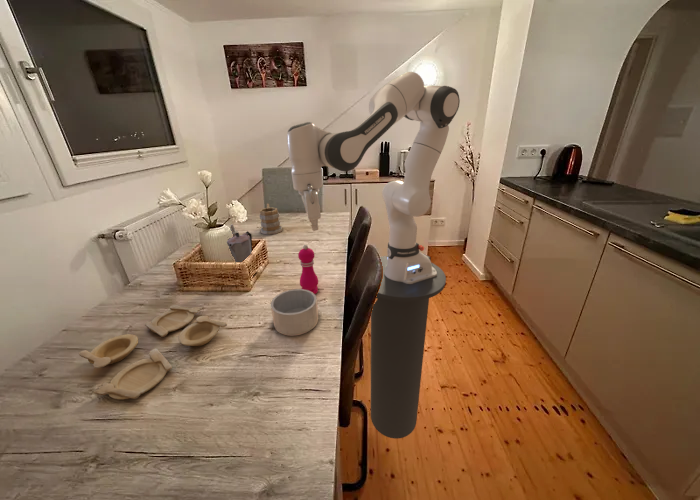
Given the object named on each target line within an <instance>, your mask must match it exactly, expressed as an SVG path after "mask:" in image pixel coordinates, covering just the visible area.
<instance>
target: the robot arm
mask: <svg viewBox="0 0 700 500" xmlns="http://www.w3.org/2000/svg"><path fill="white" fill-rule="evenodd" d="M460 101H461V99H460V94H459V92H458V90H457V89H456V88H454V87H453V86H449V85H432V84H430V85H425V81H424V80H423V78H422V76H420V74H419V73H417V72H416V71H407V72H405V73H402V74H401V75H398V76H395V78H393V79H391V80H389V81H388V82H387V83H385V84H384V85H383V86H382V87H381V88H379V89H378V90H377V91H376V92H375V93H374V94H373V95H372V96H371V98H370V99H369V101H368V102H369V103H368V111H369V112H368V113H369V116H367V117H366V118H365V119H364V120H362V122H360V123H359V124H358V125H357V126H356V127H354V128H353V129H351V130H348V131H347V130H346V131H342V132H335V133H334V132H333V133H332V132H330V131H327V130H325V129H322V128H320V127H318V126H317V125H316V124H314V123H313V122H311V121H307V122H303V123H299V124H296V125H293V126H291V127H290V128H289V129H288V130H287V134H286V144H287V153H288V158H289V159H288V160H289V161H290V164H291V170H290V171H291V173H290V174H291V178H292V186H293V190H294V191H298V194H299V195H300V196H301V201H302V204H303V207H304V209H305V213H306V215H307V219H308V221H309V223H310V224H311V230H312V231H313V232H316V231H319V220H320V219H321V218H322V214H321V213H322V212H321V207H320V200H319V195H318V194H319V193H320V189H321V188H323V186H324V184H323V183H324V182H323V173H322V167H329V168H332V169H335V170H338V171H340V172H349V171H352V170H354V169H355V168H357V166H359V164H360V163H361V161H362V160H363V157H364V156H365V154H366V152H367V151H368V150H369V148H370V147H372V145H374V144H375V143H376V142H377V141H378V140H379V139H380V138H381V137H382V136H383V135H384V134H385V133H386V132H387V131H389V129H391V128H392V127H393V126H394V125H395V124H396V123H398V122H399V121H400V120H402V119H403V118H405V119H407V120H410V121H415V122H419V130H418V132H417V134H416V136H415V137H414V140H413V142H412V144H411V147H410V149H409V151H408V153H407V156H406V157H405V160H404V165H403V166H404V169H405V170H404V178H403V181H401V180H393V181H389V182H387V183H386V184H385V185H384V186H383V188H382V191H381V197H382V199H383V201H384V204H385V209H386V215H387V220H388V243H387V249H386V250H387V251H386V253H387V256H388V260H387V265H386V269H385V271H384V274H385V276H386V277H387V278H389V279H391V280H394V281H399V282H404V283H407V284H413V283H416V282H419V281H422V280H425V279H429V278H432V277H435V276H437V272H436V270H435V269H434V268H433V267H432V264H431V263H432V260H431V259H432V257H431V256H429V255H427V254H426V253H423V251H424V250H425V246H424V245H422V244H419V243H418V242H417V235H418V233H417V232H418V226H417V223H416V221H415V218H418V217H422V216H424V215H426V214H427V213H428V212H429V210H430V208H431V205H432V199H431V195H430V184H431V179H432V175H433V172H434V171H435V168H436V165H437V164H438V161H439V159H440V156H441V154H442V152H443V150H444V147H445V145H446V142H447V138H448V135H449V131H450V127H449V125H450V124H451V122H452V121H453V120H454V118H455V116H456V115H457V113H458V111H459V108H460ZM414 217H415V218H414Z"/></svg>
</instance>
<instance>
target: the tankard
mask: <svg viewBox="0 0 700 500" xmlns="http://www.w3.org/2000/svg"><path fill="white" fill-rule="evenodd" d="M279 218H280V211H278V208H277V207H270V203H266V207H264V208H262V209H261V208H260V210H259V219H260V220H261V221H260V227H261V228H260V233H261V234H263V235H267V236H268V235H276V234H279V233H281V232H282V231H283V227H282V225H281V221H280V219H279Z"/></svg>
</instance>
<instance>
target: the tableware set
mask: <svg viewBox="0 0 700 500" xmlns="http://www.w3.org/2000/svg"><path fill="white" fill-rule="evenodd" d="M201 310H203V307H202V306H194V307H193V306H192V307H187V306H180V305H175V304H173V305H170V306H169V309H168V310H165V311H163V312H161V313H159V314H158V315H157V316H155V317H154V318H153V319H152V320H151V321H145V322H144V326H145V327H147V328H148V329H149V330H150V332H152V333H154V334H156V335H158V336H160V337H161V338H164V337H166V336H167V335H168V334H169V333H171V332H175V331H178V330H180V329H182V328H184V327H185V326H186V327H185V328H184V329H183V330H181V332H180V333H179V335H178V337H177V340H178V342H179V344H180V345H183V346H185V347H201V346H204V345H207V344H208V343H209V342H210V341H212V339H214V337H215V336H216V335H217V334H218V333H219V332H220V328H226V327H227V326H228V323H227V322H226V321H221V320H215V319H210V317H209V316H208V315H206V314H205V315H200V316H197V318H196V319H195V321H196V322H193V323H191V322H192V321H193V319H194V318H195V314H197V313H199V312H200V311H201ZM190 323H191V324H190ZM188 324H189V325H188ZM187 325H188V326H187ZM138 344H139V337H138V336H137V335H135V334H132V333H131V334H130V333H127V334H126V333H125V334H121V335H116V336H114V337H111V338H108V339H107V340H105V341H102V342H101V343H100V344H98V345H96V346H95V347H94V348H92V350H91V351H88V350H85V349H83V350H80V351H79V352H78V356H79V357H82V358H84V359H86V360H87V361H88V363H90V365H93V367H94V368H96V369H100V368H104V367H106V366H108V365H113V364H116V363H118V362H121V361H122V360H124V359H126V358H127V357H128V356H129V355H130V354H131V352H132V351H133V350H134V349H135V348H136V347H137V346H138ZM148 356H149V357H147V358H143V359H140V360H137V361H135V362H132V363H131V364H129V365H126V366H125V367H124V368H123V369H121V370H120V371H118V372H117V373H116V374H115V376H113V377H112V378H111V380H110V382H109V383H108V382H103V383H102V384H101V386H98V387H97V389H95V390H93V392H92V393H93V394H95V395H101V396H105V395H108V396H109V397H110V398H112V399H114V400H119V401H120V400H128V399H132V400H135V399H138V398H139V397H140V396H141V395H142V394H145V393H146V392H148V391H151V390H152V389H153V388H154V387H156V386H157V385H158V384H159V383H160V382H162V380H163V379H164V378H165V376H166V374H167V373H168V372H169V371H170V370H172V369H173V366H172V364H171V362H169V360H167V358H166V357H165V356H164V355H163V354H162V353H161V352H160V351H159V349H158V348H157V347H156V348H153V349H151V350H150V351H149V352H148Z"/></svg>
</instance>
